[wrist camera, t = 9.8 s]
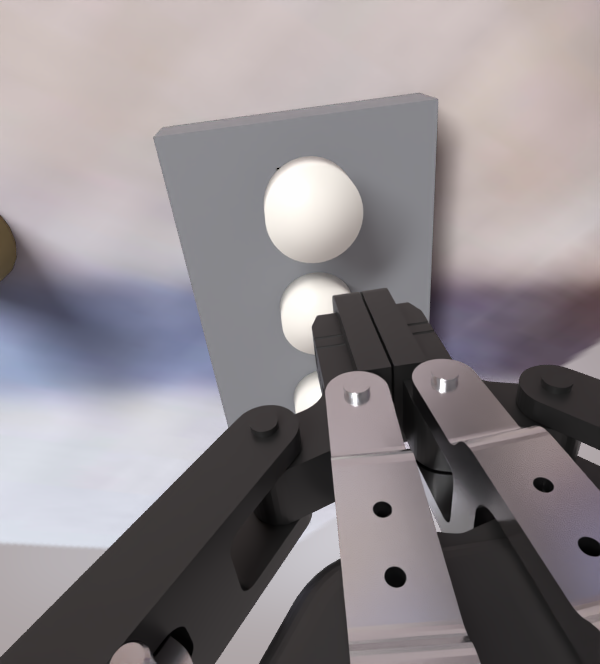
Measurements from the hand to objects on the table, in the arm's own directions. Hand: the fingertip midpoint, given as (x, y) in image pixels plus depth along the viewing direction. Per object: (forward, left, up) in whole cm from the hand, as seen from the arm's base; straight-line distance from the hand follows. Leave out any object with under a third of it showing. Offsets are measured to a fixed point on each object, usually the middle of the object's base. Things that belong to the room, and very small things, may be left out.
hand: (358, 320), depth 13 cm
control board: (+7, 0, -17) cm, 18 cm away
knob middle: (+7, 0, -17) cm, 18 cm away
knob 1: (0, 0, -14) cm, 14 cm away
